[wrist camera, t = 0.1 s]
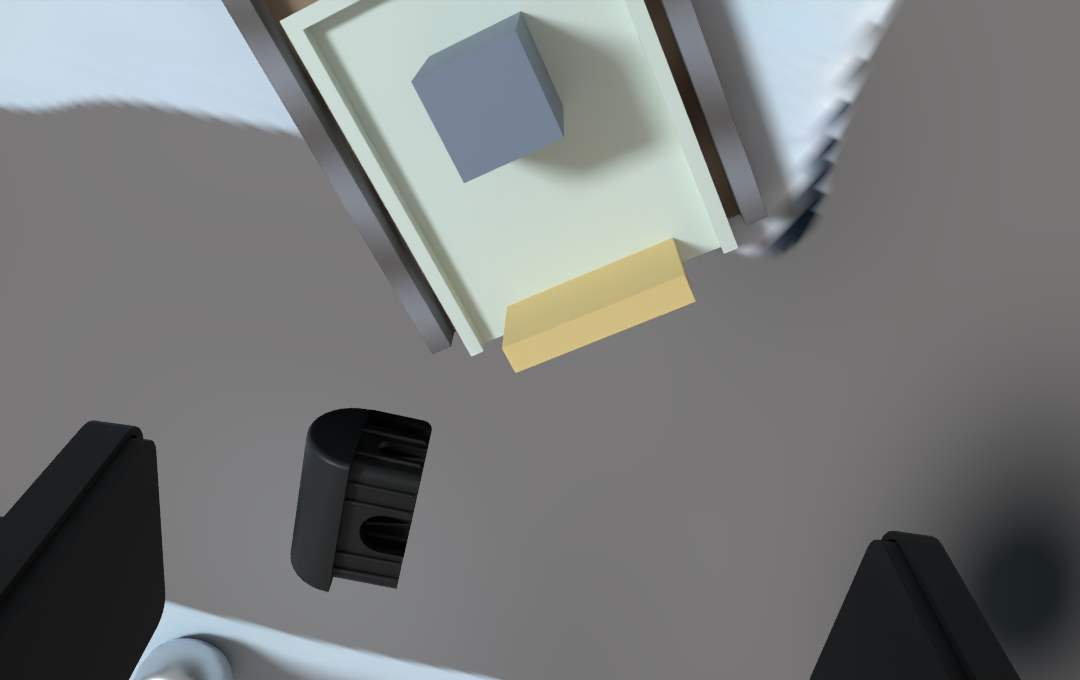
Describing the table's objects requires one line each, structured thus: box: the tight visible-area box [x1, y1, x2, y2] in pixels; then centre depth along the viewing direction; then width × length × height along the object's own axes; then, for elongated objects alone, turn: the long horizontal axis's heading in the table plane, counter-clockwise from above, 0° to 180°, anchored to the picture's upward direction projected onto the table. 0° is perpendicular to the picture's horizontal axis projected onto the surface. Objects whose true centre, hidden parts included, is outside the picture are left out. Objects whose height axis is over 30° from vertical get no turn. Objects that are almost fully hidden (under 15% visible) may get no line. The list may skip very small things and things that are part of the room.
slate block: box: [411, 11, 564, 183], centre depth 40 cm, size 5×5×6 cm
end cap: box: [291, 408, 432, 592], centre depth 54 cm, size 10×7×7 cm
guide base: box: [222, 0, 768, 354], centre depth 42 cm, size 28×20×3 cm
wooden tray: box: [280, 0, 738, 372], centre depth 42 cm, size 20×16×6 cm
